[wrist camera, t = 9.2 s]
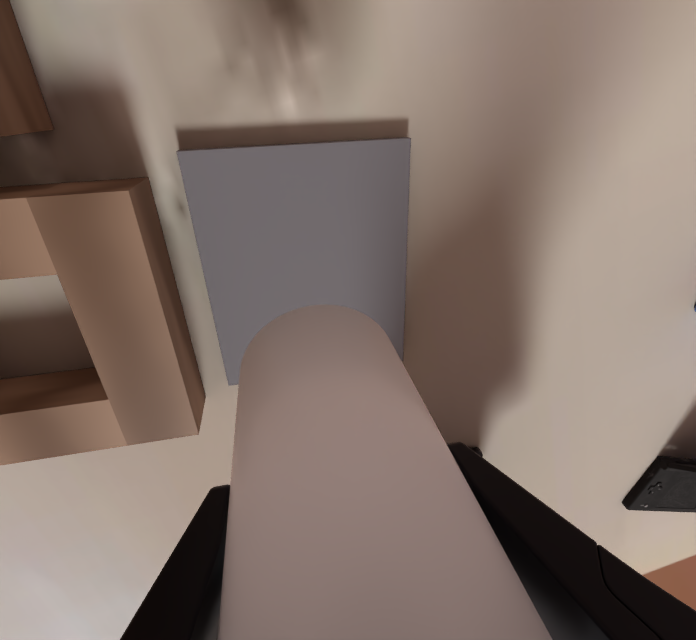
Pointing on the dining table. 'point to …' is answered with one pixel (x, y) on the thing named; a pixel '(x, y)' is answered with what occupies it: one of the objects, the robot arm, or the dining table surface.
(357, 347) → the cylinder
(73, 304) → the socket block
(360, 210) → the mat
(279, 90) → the dining table surface
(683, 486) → the handheld gaming console
